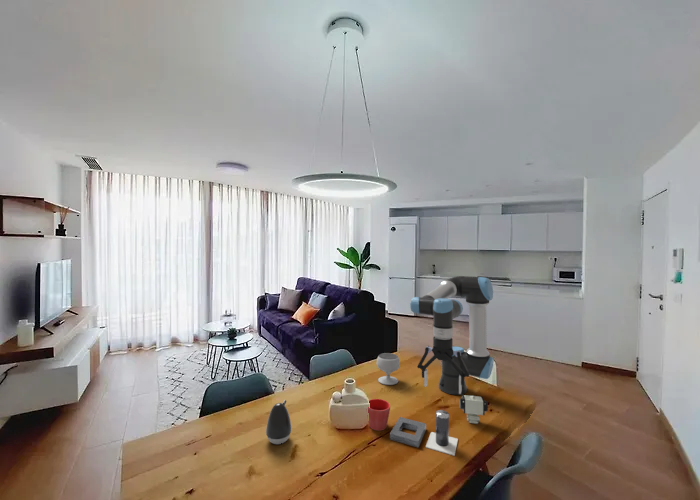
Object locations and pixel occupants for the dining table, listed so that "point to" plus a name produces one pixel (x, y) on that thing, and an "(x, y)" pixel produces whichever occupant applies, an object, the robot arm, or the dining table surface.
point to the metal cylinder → (442, 428)
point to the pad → (445, 449)
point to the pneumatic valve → (473, 407)
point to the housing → (406, 437)
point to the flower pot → (378, 414)
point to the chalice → (388, 367)
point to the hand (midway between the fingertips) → (442, 389)
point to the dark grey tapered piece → (278, 424)
